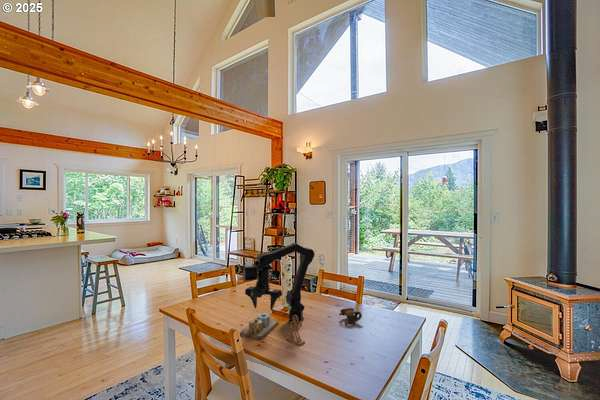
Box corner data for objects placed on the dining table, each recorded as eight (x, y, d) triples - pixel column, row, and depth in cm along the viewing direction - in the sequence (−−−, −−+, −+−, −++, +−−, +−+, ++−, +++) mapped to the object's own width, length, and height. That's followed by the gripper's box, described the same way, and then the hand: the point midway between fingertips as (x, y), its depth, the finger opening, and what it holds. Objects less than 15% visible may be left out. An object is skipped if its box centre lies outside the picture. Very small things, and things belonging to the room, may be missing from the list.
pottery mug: (339, 326, 148) (336, 309, 152) (343, 327, 156) (341, 311, 160) (361, 322, 145) (358, 305, 149) (365, 324, 152) (362, 308, 156)
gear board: (278, 324, 149) (278, 311, 149) (262, 339, 132) (262, 325, 132) (258, 320, 153) (258, 308, 153) (239, 335, 136) (239, 322, 137)
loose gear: (272, 321, 148) (272, 314, 148) (266, 327, 142) (266, 319, 142) (261, 320, 151) (261, 312, 151) (254, 325, 145) (254, 317, 145)
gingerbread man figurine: (285, 339, 133) (285, 313, 133) (291, 336, 135) (291, 311, 135) (299, 346, 126) (299, 319, 126) (305, 343, 129) (305, 316, 129)
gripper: (239, 280, 142) (239, 312, 142) (272, 284, 136) (272, 317, 136) (250, 275, 153) (250, 304, 153) (282, 278, 146) (282, 309, 146)
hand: (263, 309), depth 146 cm, fingers open, 9 cm apart
